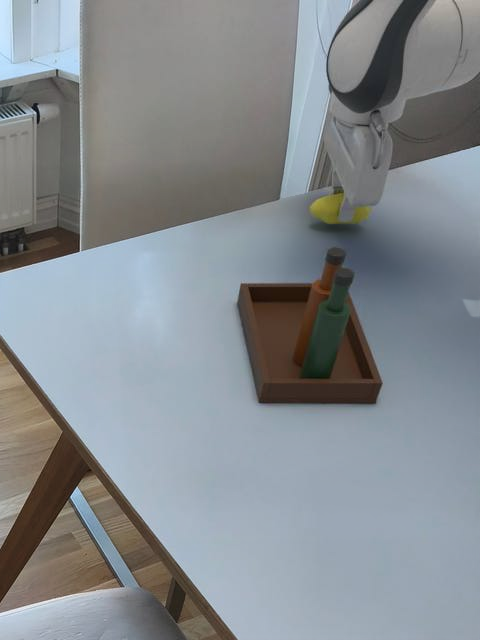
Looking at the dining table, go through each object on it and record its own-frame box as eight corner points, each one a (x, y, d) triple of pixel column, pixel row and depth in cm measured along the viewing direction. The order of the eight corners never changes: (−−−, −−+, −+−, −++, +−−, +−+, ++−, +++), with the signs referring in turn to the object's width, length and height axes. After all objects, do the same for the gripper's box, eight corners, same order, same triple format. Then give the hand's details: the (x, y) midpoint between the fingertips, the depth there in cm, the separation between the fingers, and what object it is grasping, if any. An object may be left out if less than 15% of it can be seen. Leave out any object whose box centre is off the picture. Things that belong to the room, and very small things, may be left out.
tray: (339, 302, 109) (345, 282, 107) (375, 403, 96) (382, 383, 94) (237, 302, 110) (240, 283, 108) (258, 402, 97) (263, 382, 95)
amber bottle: (319, 352, 102) (349, 243, 92) (323, 368, 100) (356, 259, 90) (290, 352, 102) (318, 243, 92) (295, 368, 100) (324, 259, 90)
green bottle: (325, 373, 99) (357, 264, 89) (330, 390, 97) (364, 280, 87) (296, 373, 99) (325, 264, 89) (301, 390, 97) (331, 280, 87)
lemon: (368, 231, 119) (376, 202, 116) (307, 228, 120) (313, 199, 117) (365, 216, 121) (373, 187, 118) (306, 214, 123) (312, 185, 120)
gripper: (415, 130, 102) (380, 246, 113) (377, 66, 115) (349, 176, 126) (359, 131, 102) (330, 247, 113) (328, 68, 115) (304, 177, 126)
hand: (339, 209), depth 119 cm, fingers closed on lemon, 4 cm apart
